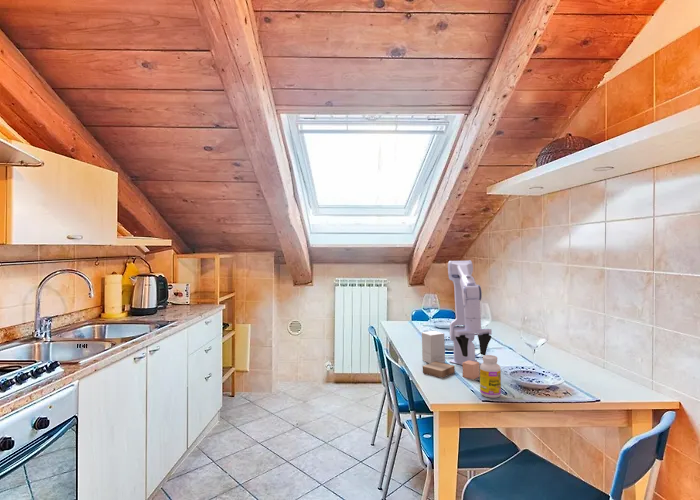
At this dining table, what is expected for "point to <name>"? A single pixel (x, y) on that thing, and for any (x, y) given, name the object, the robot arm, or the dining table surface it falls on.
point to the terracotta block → (471, 369)
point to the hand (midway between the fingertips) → (474, 355)
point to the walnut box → (438, 369)
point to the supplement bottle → (490, 377)
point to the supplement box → (433, 347)
